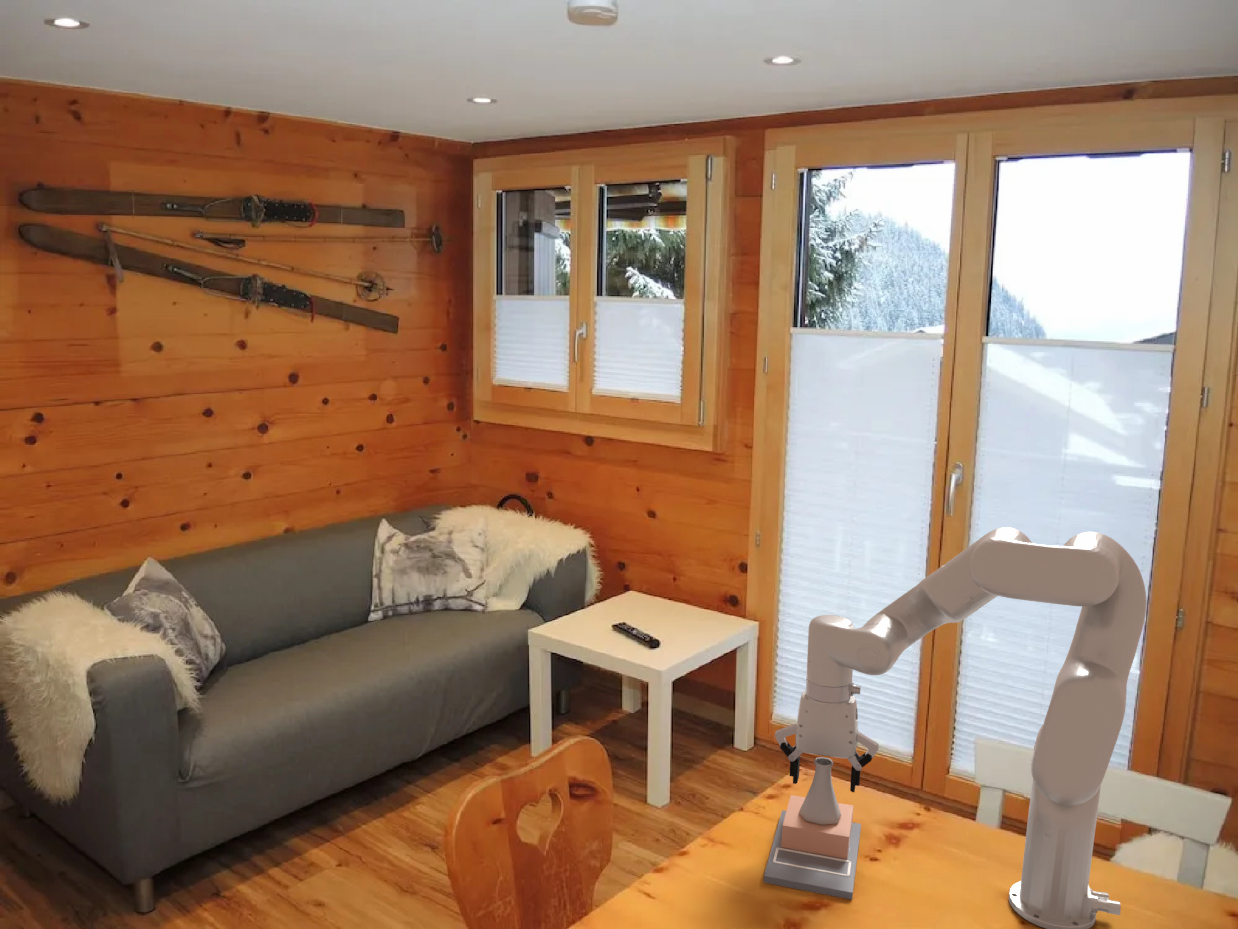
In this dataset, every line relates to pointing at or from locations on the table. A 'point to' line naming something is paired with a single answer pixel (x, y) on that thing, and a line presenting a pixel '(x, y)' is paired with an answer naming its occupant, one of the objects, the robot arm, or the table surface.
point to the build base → (814, 852)
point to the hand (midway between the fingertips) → (824, 784)
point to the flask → (821, 796)
